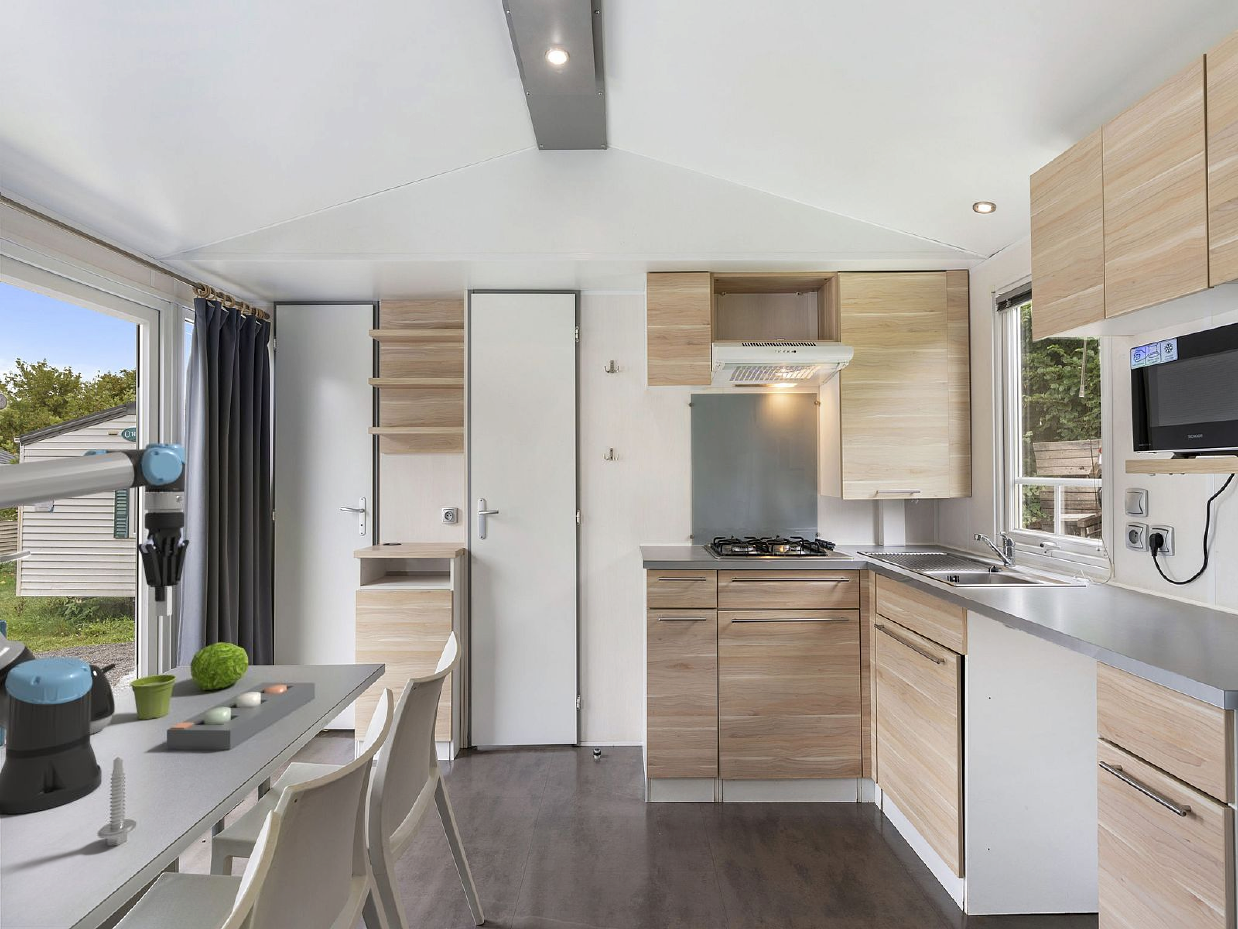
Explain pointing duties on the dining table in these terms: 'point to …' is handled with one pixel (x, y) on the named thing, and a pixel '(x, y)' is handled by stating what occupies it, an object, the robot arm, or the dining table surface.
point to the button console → (240, 719)
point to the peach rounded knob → (275, 689)
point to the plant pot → (153, 695)
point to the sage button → (217, 716)
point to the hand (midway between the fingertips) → (163, 615)
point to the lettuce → (218, 666)
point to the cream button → (248, 700)
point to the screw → (117, 809)
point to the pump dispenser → (101, 698)
